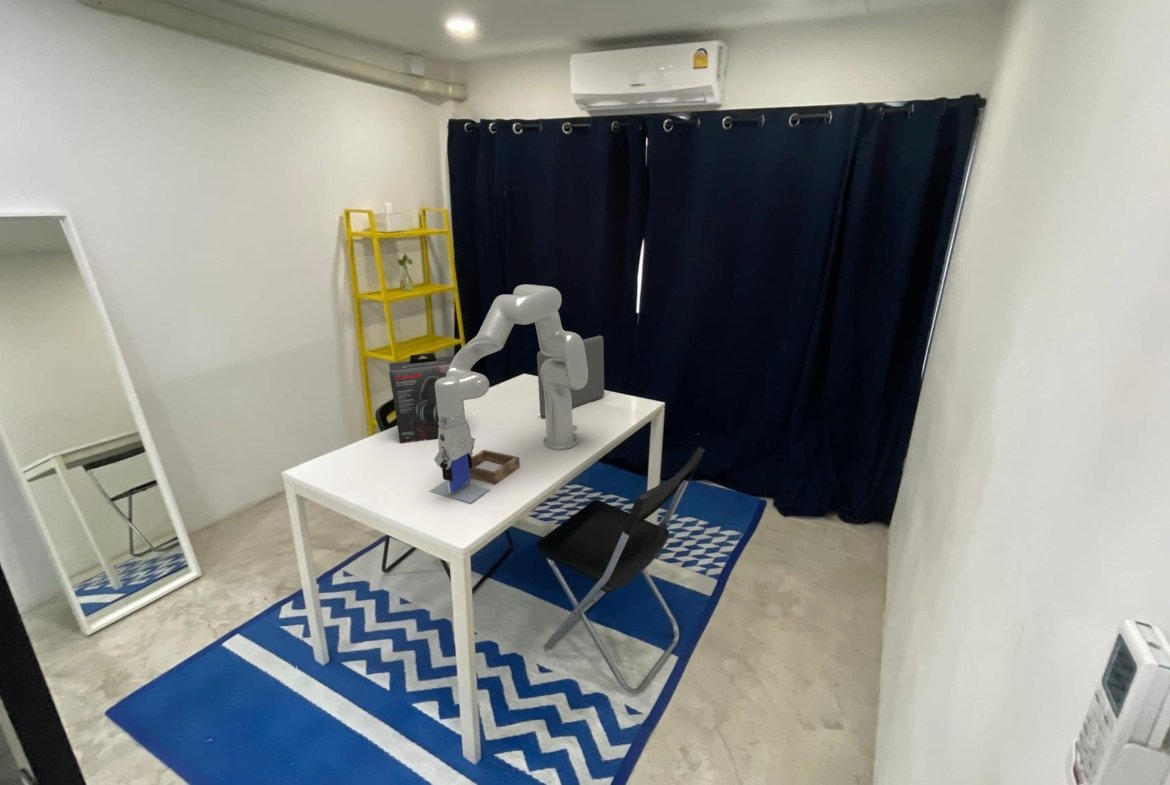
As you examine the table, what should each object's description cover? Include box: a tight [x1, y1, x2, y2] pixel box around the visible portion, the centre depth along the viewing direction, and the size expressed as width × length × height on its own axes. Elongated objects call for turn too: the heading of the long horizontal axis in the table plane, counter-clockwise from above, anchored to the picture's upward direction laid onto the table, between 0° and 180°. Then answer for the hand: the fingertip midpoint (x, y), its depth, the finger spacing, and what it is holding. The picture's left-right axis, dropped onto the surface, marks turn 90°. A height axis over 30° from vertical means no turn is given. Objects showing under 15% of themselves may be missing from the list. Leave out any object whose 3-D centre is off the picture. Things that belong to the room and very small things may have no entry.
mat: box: [428, 480, 491, 505], centre depth 169 cm, size 9×16×1 cm, turn 62°
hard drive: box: [444, 454, 471, 493], centre depth 166 cm, size 2×8×12 cm, turn 148°
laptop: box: [535, 335, 605, 419], centre depth 242 cm, size 38×29×29 cm
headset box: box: [388, 352, 455, 444], centre depth 206 cm, size 24×13×33 cm, turn 109°
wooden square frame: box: [469, 449, 521, 486], centre depth 181 cm, size 13×14×4 cm
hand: (458, 473), depth 167 cm, fingers closed on hard drive, 8 cm apart
